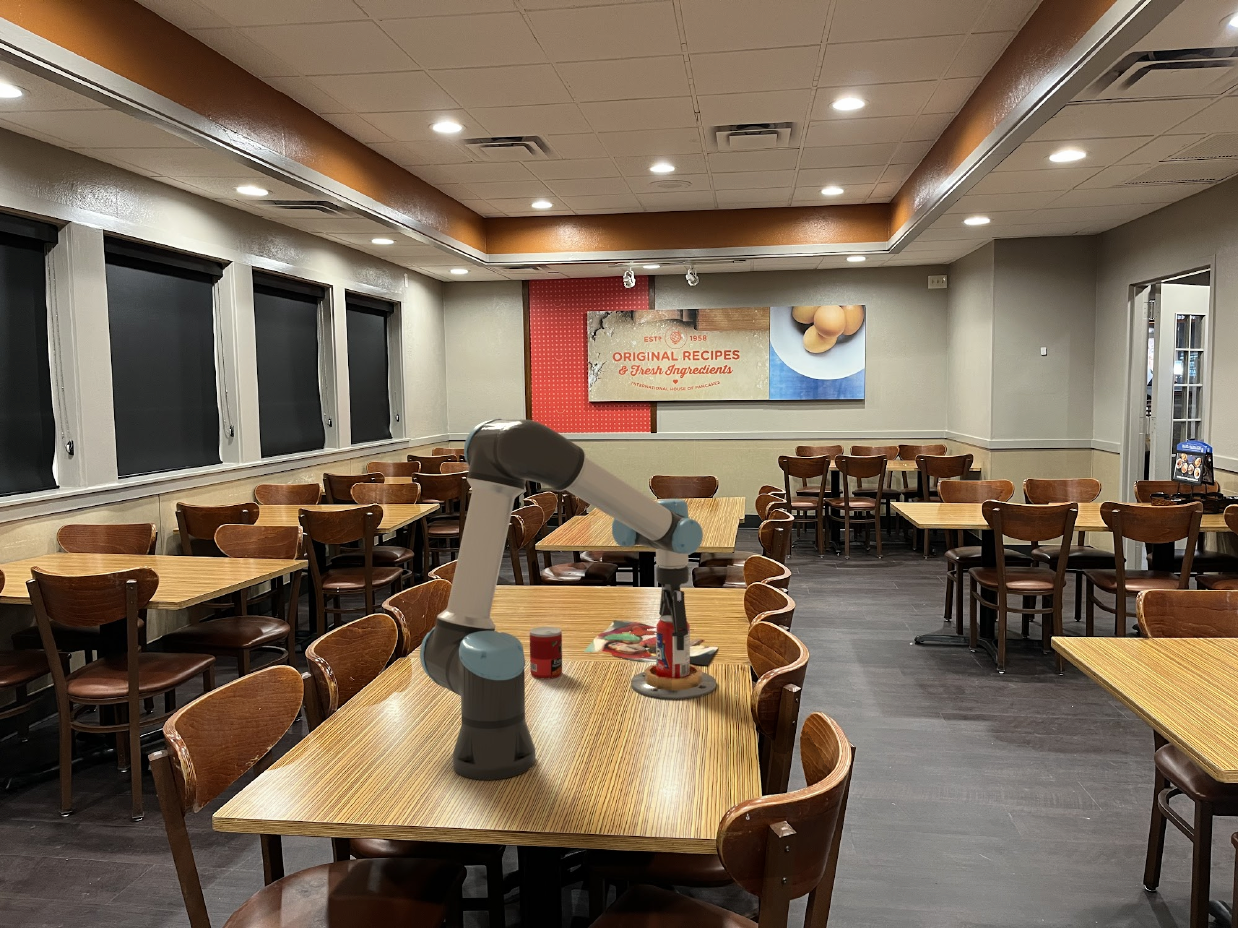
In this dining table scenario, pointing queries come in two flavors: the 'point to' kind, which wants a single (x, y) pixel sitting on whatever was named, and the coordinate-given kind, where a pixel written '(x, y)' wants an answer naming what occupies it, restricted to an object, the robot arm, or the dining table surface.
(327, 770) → the dining table surface
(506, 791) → the dining table surface
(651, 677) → the bolted flange plate
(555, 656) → the canned food
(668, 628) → the soda can
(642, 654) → the colorful printed placemat
